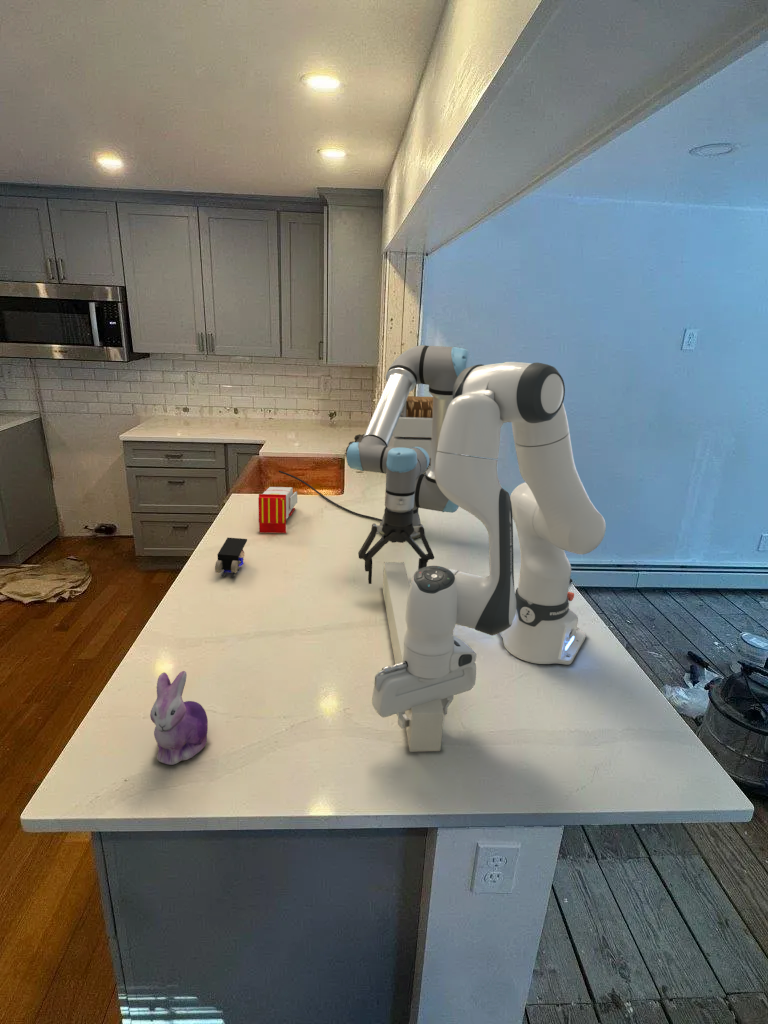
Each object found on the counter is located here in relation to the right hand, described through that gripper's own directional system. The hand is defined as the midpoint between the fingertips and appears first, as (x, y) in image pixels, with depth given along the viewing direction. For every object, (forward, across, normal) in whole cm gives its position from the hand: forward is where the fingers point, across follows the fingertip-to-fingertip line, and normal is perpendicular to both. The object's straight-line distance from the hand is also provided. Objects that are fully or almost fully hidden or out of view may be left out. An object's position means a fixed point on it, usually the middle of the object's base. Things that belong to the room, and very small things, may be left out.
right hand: (422, 719), depth 105 cm
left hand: (-2, +20, +48) cm, 53 cm away
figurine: (+3, -41, +14) cm, 43 cm away
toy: (+3, +9, +118) cm, 118 cm away
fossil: (+4, +79, +200) cm, 215 cm away
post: (+3, +10, +24) cm, 27 cm away
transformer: (+4, +91, +154) cm, 179 cm away
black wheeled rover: (+3, -16, +82) cm, 84 cm away
